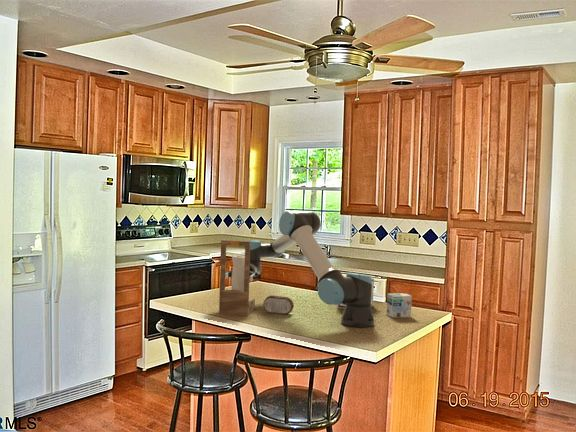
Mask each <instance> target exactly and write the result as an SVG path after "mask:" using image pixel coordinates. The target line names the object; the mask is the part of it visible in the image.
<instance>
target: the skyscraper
mask: <svg viewBox="0 0 576 432" xmlns="http://www.w3.org/2000/svg"><path fill="white" fill-rule="evenodd" d="M243 255H245V252H240V254H232V255H231V259H232V265H233V266H232V267H233V268H232V270H233V271H232V270H231V271H232V277H231V279H230V280H231V281H230V282H231V284H230V285H231V290H239V291H244V266H245V256H243Z"/></svg>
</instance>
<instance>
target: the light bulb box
mask: <svg viewBox="0 0 576 432" xmlns="http://www.w3.org/2000/svg"><path fill="white" fill-rule="evenodd" d="M386 295H387V297H386V313H385V314H386V316H389V317H390V318H412V301H413V298H412V297H413V296H412V295H410V294H408V293H406V292H405V293H402V292H401V293H387V294H386Z"/></svg>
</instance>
